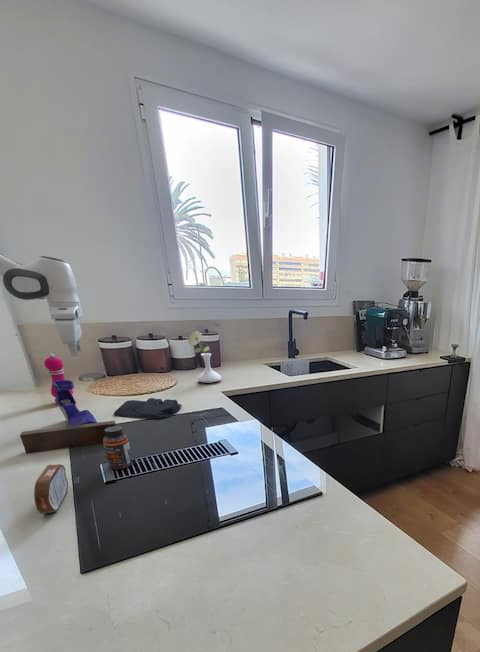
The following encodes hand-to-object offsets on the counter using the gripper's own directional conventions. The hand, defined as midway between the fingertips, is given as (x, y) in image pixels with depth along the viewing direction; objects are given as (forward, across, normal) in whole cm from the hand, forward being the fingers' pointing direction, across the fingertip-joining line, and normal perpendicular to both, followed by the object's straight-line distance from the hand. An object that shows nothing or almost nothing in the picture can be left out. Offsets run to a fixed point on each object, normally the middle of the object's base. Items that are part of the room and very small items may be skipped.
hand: (76, 353), depth 135 cm
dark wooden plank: (+24, +25, -3) cm, 35 cm away
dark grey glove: (+24, -1, +19) cm, 30 cm away
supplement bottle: (+24, +47, +10) cm, 54 cm away
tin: (+24, +63, -2) cm, 67 cm away
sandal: (+24, +5, -3) cm, 25 cm away
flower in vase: (+23, -39, +46) cm, 65 cm away
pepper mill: (+24, -27, -12) cm, 38 cm away
